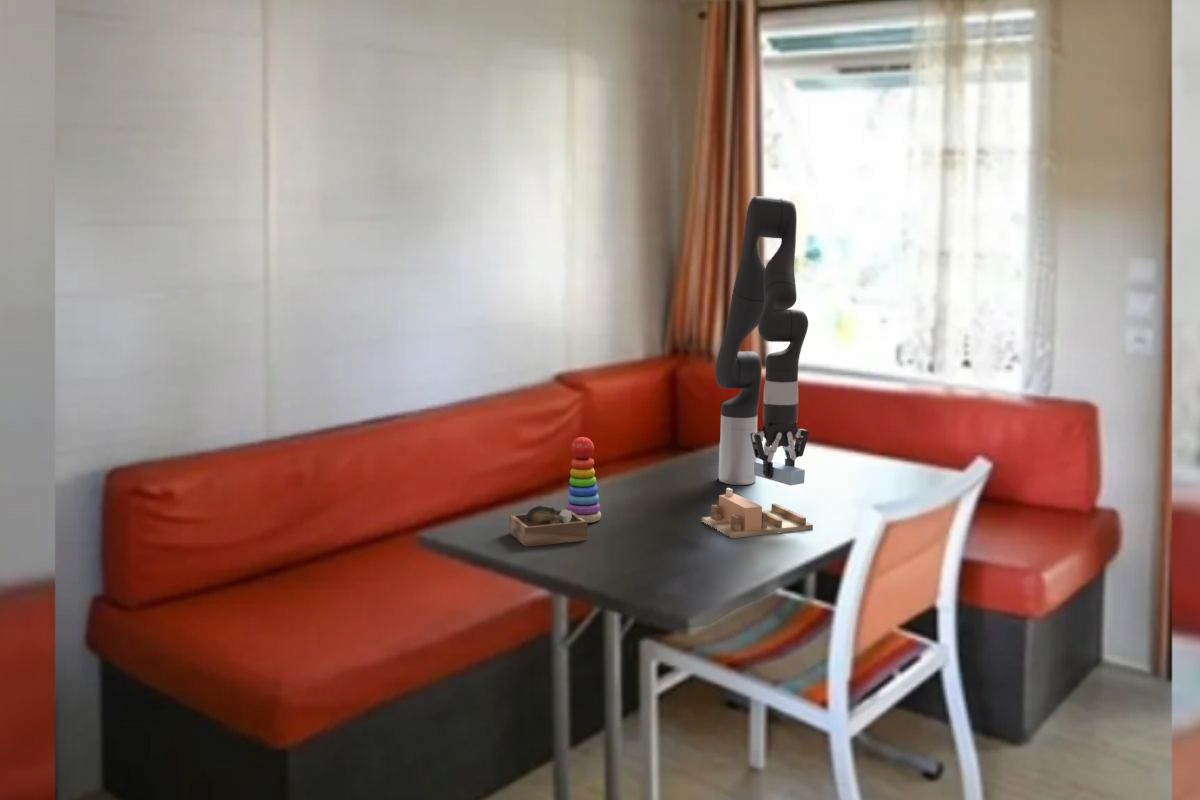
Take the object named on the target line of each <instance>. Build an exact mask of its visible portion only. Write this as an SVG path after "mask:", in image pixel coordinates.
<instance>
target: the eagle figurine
mask: <svg viewBox="0 0 1200 800" xmlns="http://www.w3.org/2000/svg"><path fill="white" fill-rule="evenodd" d="M561 510H562V511H561V512H560V514H559V515H557V511H558V510H556V509H555V508H554V507H547V506H543V505H537V506H535V507H533V508H531V509H529V511H528V512H527V513H525V514H526V515H527V516H526V517H525V518H526V520H527V522H529V523H546V524H545V525H549V524H559V523H569V522H570V520H571V518H572V514H571V512H570V511H568V510H567V508H563V509H561Z"/></svg>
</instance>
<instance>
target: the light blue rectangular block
mask: <svg viewBox="0 0 1200 800" xmlns="http://www.w3.org/2000/svg"><path fill="white" fill-rule="evenodd" d="M771 462H773V475H772V478H771V479H768V478H766V477H765V475H763V460H759V461H758V460H756V462H754V475H756V477H760V478H762V479H763V478H764V479H767V480H770V481H774V482H777V483H779V484H784V485H787V486H797V485H802V484H805V475H806V470H805V469H803V468H800V467H792V466H789V465H785V463H780V462H777V461H774V460H772V461H771Z"/></svg>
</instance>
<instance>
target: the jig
mask: <svg viewBox="0 0 1200 800" xmlns="http://www.w3.org/2000/svg"><path fill="white" fill-rule="evenodd" d="M721 510H722V507H720V506H719V504H711V512H710V513H711V516H703V517H701V523H703V522H704V523H703V524H705V523H706V524H705V525H707V524H708V525H710V526H711V527H710V526H709V527H710V528H712V527H713V528H712V529H714V528H715V529H714V530H716V529H717V530H716V531H717V532H719V531H720V533H721V532H722V533H721V534H723V535H725V536H727V537H728V536H729V537H728V538H730V539H736V538H737V539H738V538H740V539H741V538H746V537H747V538H748V537H756V536H757V535H758V536H765V534H766V535H772V534H771V533H775V534H779V533H778V532H784V533H789V532H788V531H793V532H799V531H798V530H802V531H807V530H808V531H809V529H811V530H813V529H814V524H812V523H810V522H808V521H807V518H806V516H803V515H801V514H798V513H797V512H794V511H793V510H790V509H789V508H786V507H784V506H781V505H780V504H778V503H771V509H770V510H769V509H768V510H762V525H761V529H758V530H749V531H744V530H742V529H741V517H740V516H738V515H731V523H729V522H727V521H725V520H723V519H721ZM708 525H707V526H708Z"/></svg>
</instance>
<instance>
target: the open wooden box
mask: <svg viewBox="0 0 1200 800" xmlns="http://www.w3.org/2000/svg"><path fill="white" fill-rule="evenodd" d="M562 510H563V509H560V510H557V515H559V514H560V512H561V511H562ZM568 511H570V512H571V514H572V518H571V520H570V522H569V523H559V524H549V525H545V524H546V523H529V522H527V520H526V518H525V517H526V516H527V515H526V514H527V513H520V514H519V513H518V514H510V515H509V534H510V535H511V536H512V537H514V538H515V539H516V540H517V541H518V542H519V543H521V544H522V545H523V546H524V547H527V548H529V547H536V546H538V547H539V546H544V545H545V546H546V545H554V544H555V545H556V544H563V543H571V542H572V543H574V542H583V541H588V523H587V521H585V520H584V519H583V518H581V517H580V516H578V515H577V514H575V513H574V512H572V511H571V510H568Z"/></svg>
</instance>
